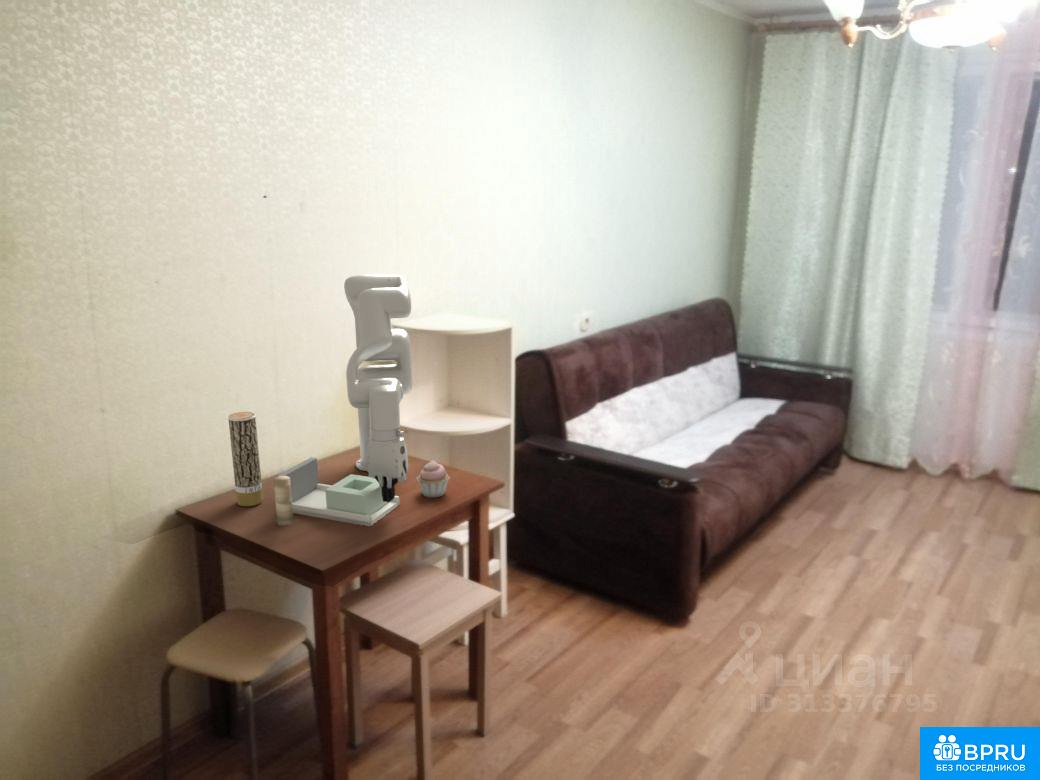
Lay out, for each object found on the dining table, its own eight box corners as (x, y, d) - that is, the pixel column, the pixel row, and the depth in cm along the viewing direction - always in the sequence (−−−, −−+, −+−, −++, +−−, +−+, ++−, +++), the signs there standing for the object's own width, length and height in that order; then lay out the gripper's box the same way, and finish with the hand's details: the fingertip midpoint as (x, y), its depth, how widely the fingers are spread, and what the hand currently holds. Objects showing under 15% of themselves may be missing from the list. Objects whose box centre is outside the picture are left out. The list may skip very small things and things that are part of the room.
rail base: (313, 490, 223) (310, 457, 221) (399, 504, 214) (398, 470, 211) (279, 510, 210) (276, 475, 207) (370, 526, 200) (368, 490, 198)
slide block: (352, 494, 217) (350, 474, 215) (390, 500, 213) (389, 479, 211) (326, 510, 206) (325, 489, 204) (366, 517, 202) (365, 496, 200)
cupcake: (450, 486, 226) (449, 454, 224) (450, 499, 217) (449, 465, 215) (417, 487, 226) (416, 455, 223) (416, 500, 217) (414, 466, 214)
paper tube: (231, 504, 214) (222, 417, 207) (249, 496, 219) (241, 410, 213) (250, 509, 211) (241, 420, 204) (268, 500, 217) (260, 413, 210)
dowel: (283, 517, 205) (280, 474, 202) (296, 520, 204) (293, 477, 201) (273, 523, 202) (270, 480, 199) (286, 526, 200) (283, 482, 197)
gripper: (418, 432, 201) (420, 498, 206) (368, 426, 207) (371, 491, 211) (404, 441, 195) (406, 509, 199) (352, 434, 200) (356, 501, 205)
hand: (388, 500), depth 205 cm, fingers closed
